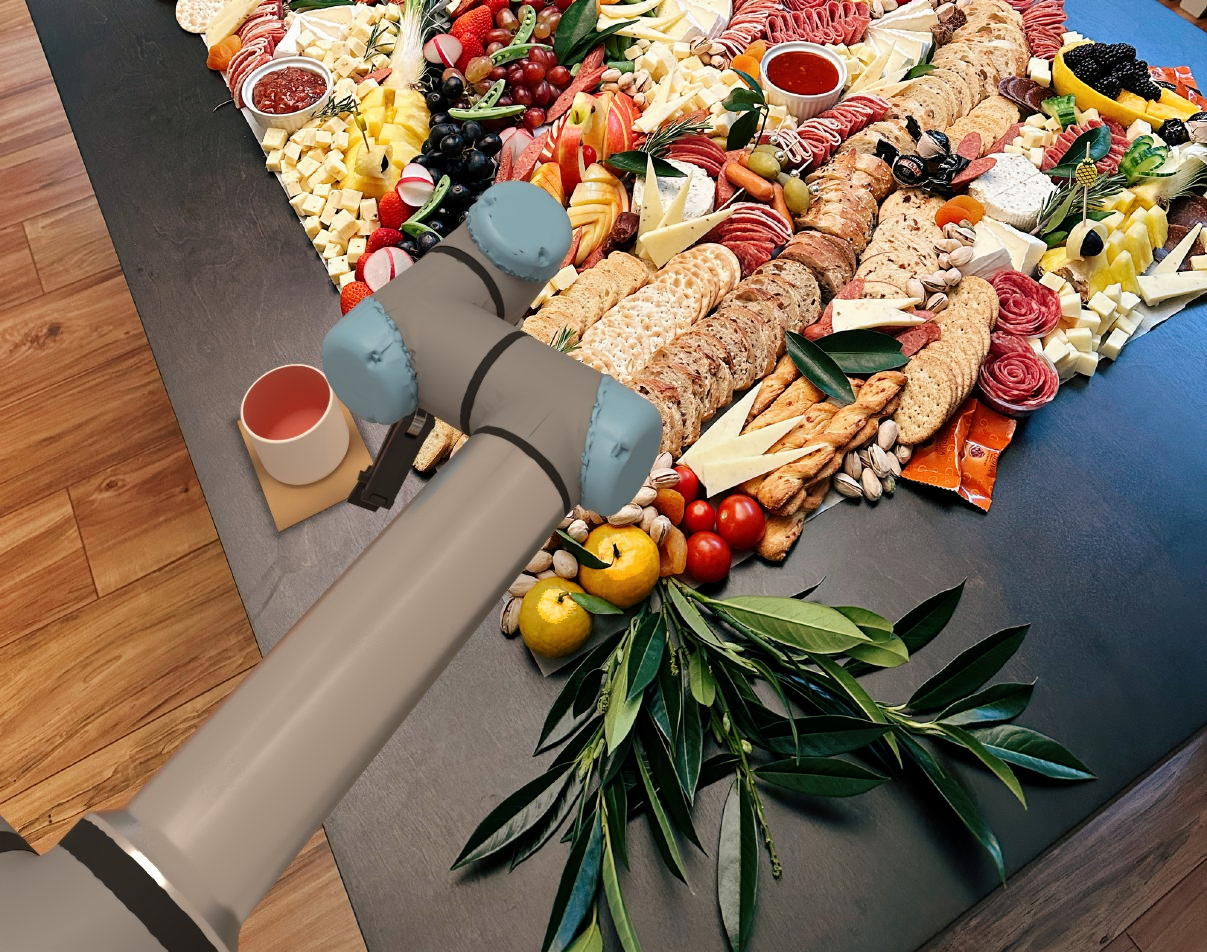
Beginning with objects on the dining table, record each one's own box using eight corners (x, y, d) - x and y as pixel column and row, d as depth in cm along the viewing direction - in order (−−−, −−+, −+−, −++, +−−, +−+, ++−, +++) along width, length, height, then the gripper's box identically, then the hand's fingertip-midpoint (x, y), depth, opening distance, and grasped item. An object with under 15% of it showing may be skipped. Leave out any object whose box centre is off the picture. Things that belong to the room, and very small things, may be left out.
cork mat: (381, 481, 129) (381, 480, 129) (278, 532, 125) (278, 531, 125) (334, 377, 139) (333, 376, 139) (237, 422, 135) (237, 421, 135)
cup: (355, 477, 129) (336, 429, 122) (265, 499, 128) (241, 452, 121) (347, 403, 136) (329, 354, 129) (262, 423, 135) (239, 375, 128)
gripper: (465, 481, 83) (383, 579, 98) (534, 223, 100) (456, 339, 115) (367, 445, 82) (299, 550, 96) (455, 190, 99) (386, 312, 114)
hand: (384, 436), depth 106 cm, fingers open, 13 cm apart
